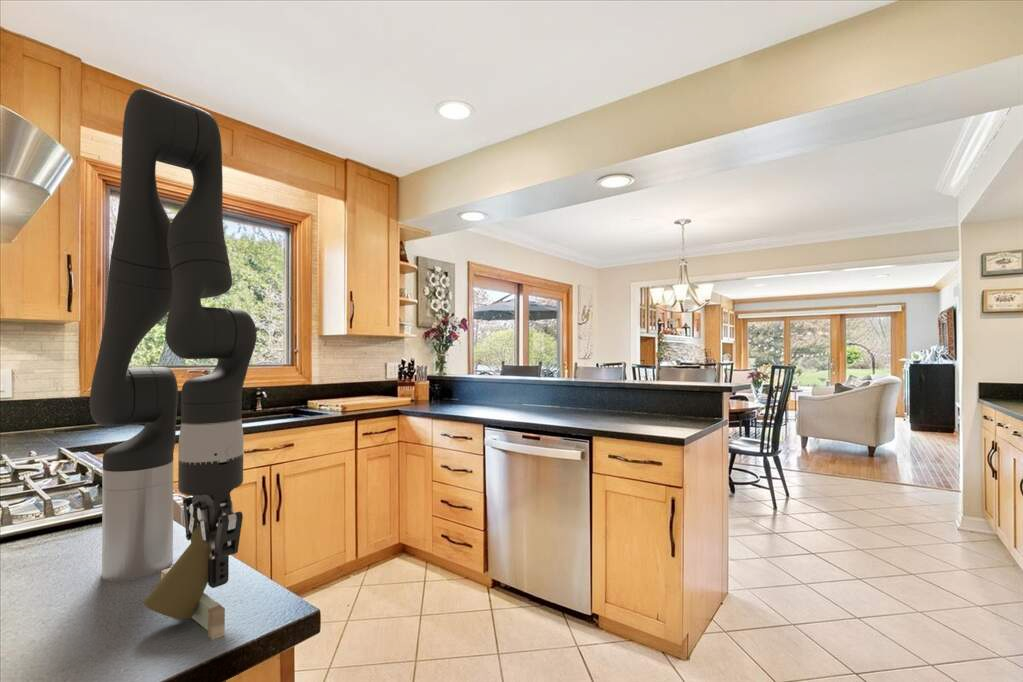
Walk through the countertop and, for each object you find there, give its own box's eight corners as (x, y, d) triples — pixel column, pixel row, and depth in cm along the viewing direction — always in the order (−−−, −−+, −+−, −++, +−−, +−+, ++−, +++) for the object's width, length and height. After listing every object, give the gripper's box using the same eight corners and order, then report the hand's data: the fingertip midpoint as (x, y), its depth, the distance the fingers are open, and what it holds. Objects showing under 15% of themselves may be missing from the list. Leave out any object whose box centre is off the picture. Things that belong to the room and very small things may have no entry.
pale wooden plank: (160, 594, 70) (161, 570, 71) (172, 590, 72) (172, 567, 72) (212, 641, 59) (212, 613, 59) (224, 636, 60) (224, 608, 60)
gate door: (175, 604, 67) (176, 583, 67) (185, 601, 68) (185, 580, 68) (210, 632, 61) (210, 608, 61) (220, 628, 62) (220, 604, 62)
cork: (182, 606, 65) (231, 526, 70) (199, 622, 62) (249, 536, 66) (137, 596, 61) (192, 512, 66) (152, 613, 58) (209, 522, 63)
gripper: (161, 451, 67) (160, 574, 67) (201, 467, 58) (200, 609, 58) (220, 442, 73) (219, 555, 73) (264, 456, 64) (263, 584, 64)
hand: (210, 578), depth 65 cm, fingers closed on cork, 4 cm apart
